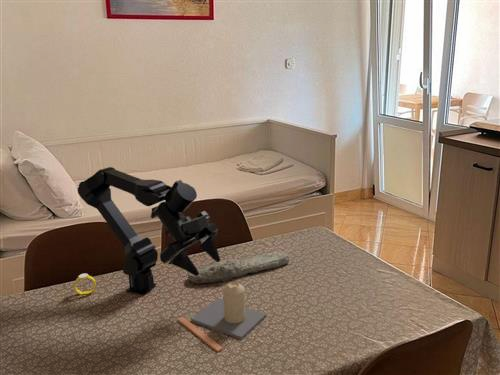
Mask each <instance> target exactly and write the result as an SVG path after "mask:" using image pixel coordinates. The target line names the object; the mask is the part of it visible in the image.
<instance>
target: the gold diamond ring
mask: <svg viewBox="0 0 500 375" xmlns="http://www.w3.org/2000/svg"><path fill="white" fill-rule="evenodd" d="M86 279H89V280H91V281H92V283H93V285H94V286H93V288H92V289H91V290H87V291H86V290H85V291H81V290H79V289H78V288H77V283H78V282H79V281H83V280H86ZM96 287H97V283H96V280H95V278H94V277H93V276H92V275H89V274H88V273H86V272H85V273H81V274H79V275H78V276H77V278H76V279H75V281H74V284H73V289H74V291H75V292H76V293H77V294H78V295H81V296H83V295H82V294H84V295H89V294H90V293H91V294H92V293H94V291H95V290H96ZM91 294H90V295H91Z"/></svg>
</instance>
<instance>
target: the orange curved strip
mask: <svg viewBox="0 0 500 375" xmlns="http://www.w3.org/2000/svg"><path fill="white" fill-rule="evenodd" d="M177 321H178V322H179V323H180V324H182V325H183V326H184V327H186V329H188V330H189V331H190V332H192V333H193V334H194V335H195V336H197V337H198V338H200V339H201V340H202V341H203V342H204V343H206V344H207V345H208V346H209V347H211V348H212V349H213V350H214V351H216V352H217V353H218V352H220V351H223V350H224V349H223V347H222V346H221V345H220V344H219V343H218V342H216V341H215V340H213V339H212V338H211V337H210V336H208V335H207V334H206V333H204V332H203V331H201V330H200V329H199V328H198V327H197V326H195V325H194V324H193V323H191V321H189V320H188V319H186V318H185V317H183V316H181V317H178V318H177Z"/></svg>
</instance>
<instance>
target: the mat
mask: <svg viewBox="0 0 500 375" xmlns="http://www.w3.org/2000/svg"><path fill="white" fill-rule="evenodd" d="M265 318H267V313H264V312H262V311H258V310H255V309H251V308H250V307H246V306H245V319H244V321H242V322H241V323H237V324H232V323H228V322H226V321H225V318H224V299H221V298H216V299H215V300H214V301H212V302H211V303H210V304H208V305H207V306H205V307H204V308H203V309H202V310H200V311H199V312H197V314H195V315H193V317H191V318H190V322H192V323H195V324H198V325H199V326H200V325H201V326H203V327H206V328H209V329H211V330H214V331H217V332H220V333H222V334H225V335H228V336H231V337H233V338H237V339H238V340H243V339H244V338H246V336H248V335H249V333H251V332H252V331H253V330H254V329H255V328H256V327H257V326H259V324H260V323H261V322H262V321H263V320H265Z"/></svg>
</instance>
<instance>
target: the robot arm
mask: <svg viewBox="0 0 500 375" xmlns="http://www.w3.org/2000/svg"><path fill="white" fill-rule="evenodd" d="M110 187H113V188H115V189H118V190H121V191H122V192H126V193H127V194H131V195H133V196H134V198H135V200H136V201H137V202H139V203H141V204H142V205H144V206H145V207H151V206H154V205H156V204H158V203H159V204H158V205H157V206H155V207H152V208H151V212H150V218H151V219H155V218H156V217H157V218H158V220H159V221H160V222H161V223H162V224H163V227H165V229H166V231H165V235H167V236H171V237H172V238H173V240H174V241H173V242H171V243H169V244H168V245H167V246H165V248H164V249H163V250H162V251H161V252H160V253H158V250H157V249H156V248H157V247H156V245H154V243H153V242H152V240H151V238H149V237H148V236H147V237H144V238H142V237H140V236H139V235H138V234H137V233H136V231H135V229H134V228H133V227H132V225H131V224H130V223H129V221H128V220H127V219H126V217H125V216H124V214H123V213H122V211H120V209H119V208H118V206H117V205H116V204H115V203H114V200H113V199H112V191H111V190H112V189H111V188H110ZM77 194H78V195H79V197H80V198H81V199H82V200H83V202H84V203H85V204H86V205H88V206H90V207H93V208H94V209H96V210H98V212H99V214H100V215H101V216H102V217H103V219H104V221H105V222H106V224H107V225H108V227H109V228H110V229H111V230H112V232H113V233H114V234H115V236H116V237H117V239H118V240H119V241H120V243H121V244H122V245H123V248H124V258H125V259H126V262H125V263H124V264H123V265H122V266H121V270H122V272H123V274H124V275H127V277H128V282H129V283H128V284H129V285H128V286H129V287H128V288H126V292H127V293H131V294H137V295H141V296H145V295H146V294H147V293H149V292H150V291H152V289H154V288H155V287H156V286H157V284H156V283H155V282H154V274H153V272H152V268H153V267H155V266H156V265H157V262H158V257H160V258H159V259H160V261H161V262H162V263H163V265H166V264H168V265H174V266H176V267H178V268H180V269H182V270H184V271H186V272H188V273H189V272H190V273H191V274H193V275H195V276H198V275H199V272H198V270H197V267H196V266H195V264H194V262H192V260H191V258H190V257H189V256H188V255H189V254H188V249H187V248H188V247H191V246H192V245H194V244H196V243H199V244H200V245H199V247H200V248H201V249H202V250H203V251H204V253H206V254H207V255H208V256H209V257H211V259H213V260H214V261H215V262H219V261H221V258H220V255H219V251H218V248H217V245H216V235H217V234H218V230H219V228H218V227H217V225H216V224H215V223H213V222H211V217H210V215H209V213H207V212H206V210H203V211H200V212H198V213H197V214H196V217H195V218H191V217H190V216H188V215H187V216H185V215H184V214H183V213H184V212H185V211H187V209H188V208H189V207H190V206H191V205H192V204H193V202H195V200H196V199H197V196H198V195H197V194H198V193H197V191H196V188H195V187H193V186H191V185H190V184H188V183H185V182H183V181H182V179H179V180H176V181H174V183H173V184H172V186H171V185H168V184H166V183H165V182H164V181H162V180H158V179H142V178H139V177H136V176H133V175H131V174H128V173H126V172H123V171H120V170H117V169H116V168H115V167H111V166H109V167H104V168H102V169H98V170H97V171H96V172H95V173H94V174H93V175H91V176H90V177H88V178H87V179H85V180H83V181H80V182H79V184H78V187H77Z"/></svg>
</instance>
